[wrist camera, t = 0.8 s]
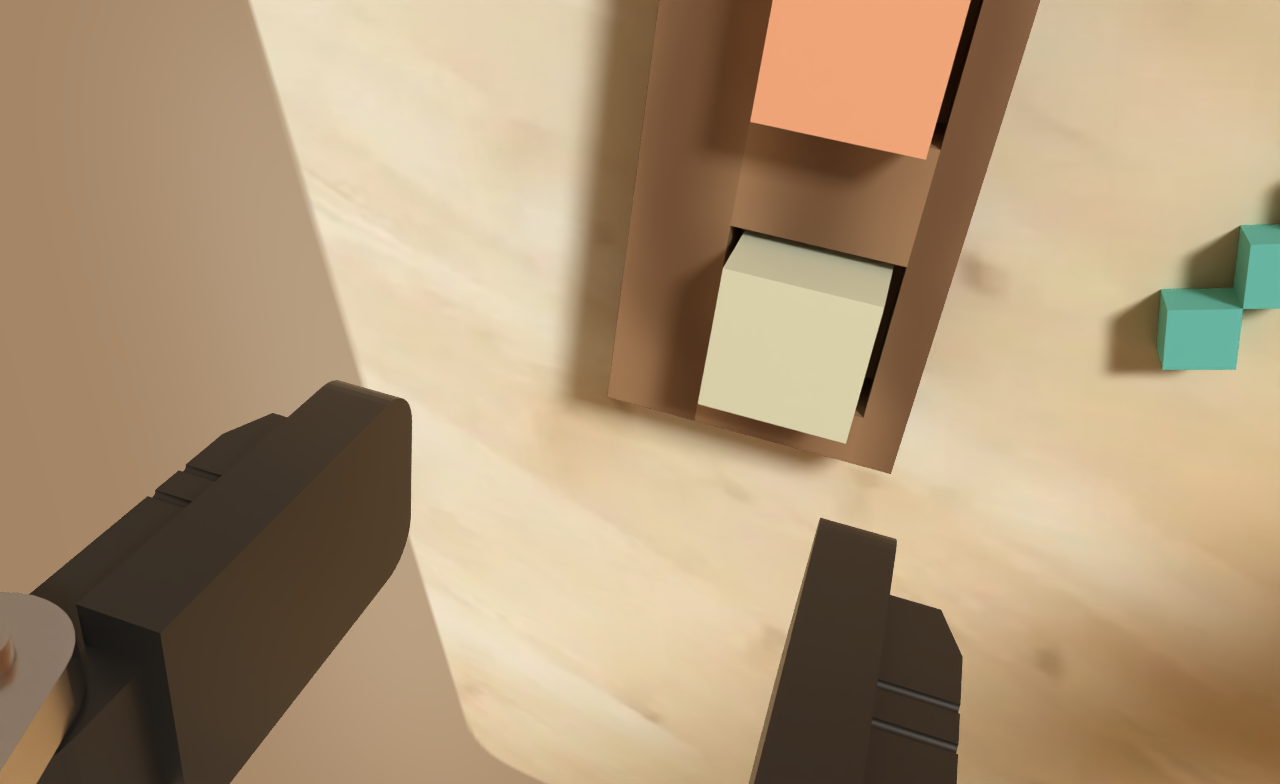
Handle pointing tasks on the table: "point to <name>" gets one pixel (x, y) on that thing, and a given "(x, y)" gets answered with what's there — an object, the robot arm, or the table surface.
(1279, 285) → the alien figure
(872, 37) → the terracotta button
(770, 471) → the table surface
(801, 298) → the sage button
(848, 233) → the button panel
